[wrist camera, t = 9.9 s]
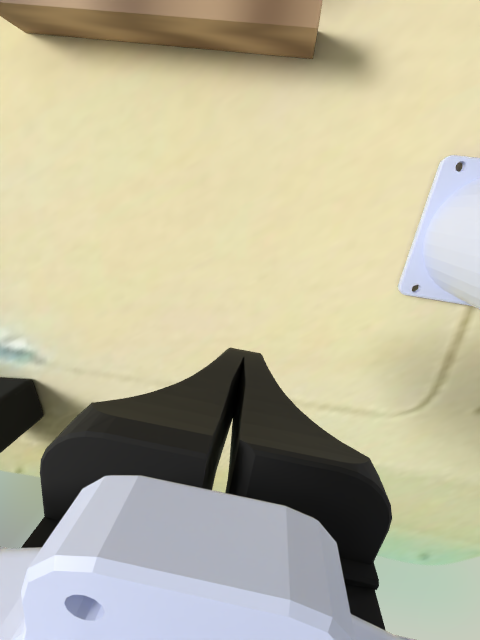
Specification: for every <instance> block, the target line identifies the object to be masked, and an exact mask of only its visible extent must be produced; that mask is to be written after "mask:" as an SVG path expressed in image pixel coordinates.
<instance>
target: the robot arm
mask: <svg viewBox="0 0 480 640" xmlns="http://www.w3.org/2000/svg"><path fill="white" fill-rule="evenodd" d="M458 162H460V163H462V169H461V171H459V172H458V171H456V169H455V168H456V165H457V163H458ZM415 285H418V289H417V290H416V291H412V287H413V286H415ZM398 290H399V291H400V292H401V293H402V294H404V295H409V296H415V297H421V298H428V299H434V300H440V301H446V302H452V303H458V304H464V305H470V306H474V307H476V308H478V309H479V310H480V158H474V157H466V156H457V155H451V156H448V157H446V158H444V159H443V160H442V161H441V162H440V164H439V166H438V169H437V172H436V175H435V178H434V181H433V184H432V187H431V190H430V193H429V196H428V199H427V202H426V205H425V207H424V210H423V213H422V216H421V219H420V222H419V225H418V228H417V231H416V234H415V237H414V240H413V243H412V246H411V249H410V252H409V255H408V258H407V261H406V264H405V266H404V269H403V272H402V275H401V278H400V281H399V284H398ZM232 418H233V424H232V437H231V450H230V464H229V473H228V481H227V487H226V493H222V492H218V491H213V490H212V487H213V483H214V478H215V474H216V470H217V466H218V463H219V460H220V457H221V453H222V450H223V447H224V444H225V441H226V438H227V434H228V431H229V428H230V425H231V422H232ZM40 477H41V485H42V486H41V487H42V496H43V506H44V514H45V515H44V516H45V517H44V518H43V519H42V521H41V522H40V523H39V525H38V526H37V527H36V529H35V530H34V531H33V533H32V534H31V535H30V537H29V538H28V540H27V541H26V542H25V543H24V545H23V546H22V547H21V548H5V547H1V546H0V640H415V639H410V638H406V637H401V636H397V635H393V634H391V633H389V632H387V631H386V630H385V626H384V623H383V619H382V616H381V612H380V608H379V604H378V601H377V597H376V593H375V590H377V588H378V586H379V579H378V576H377V572H376V569H375V566H374V560H375V557H376V556H377V553H378V551H379V549H380V547H381V545H382V543H383V541H384V539H385V537H386V535H387V533H388V531H389V527H390V524H391V520H392V513H391V505H390V502H389V500H388V497H387V495H386V492H385V490H384V487H383V485H382V482H381V480H380V478H379V475H378V474H377V472H376V470H375V468H374V466H373V464H372V462H371V460H370V458H368V457H367V456H365V455H363V454H361V453H360V452H358V451H356V450H354V449H353V448H351V447H349V446H347V445H346V444H344V443H342V442H341V441H339V440H337V439H336V438H335V437H333V436H332V435H330V434H329V433H327V432H326V431H324V430H323V429H322V428H320V427H319V426H318V425H317V424H315V423H314V422H313V421H312V420H311V419H309V418H308V417H307V416H306V415H305V414H304V413H302V412H301V411H300V410H299V409H298V408H297V407H296V406H295V405H294V404H293V402H292V401H291V400H290V399H289V398H288V397H287V396H286V395H285V393H284V392H283V391H282V390H281V388H280V387H279V385H278V384H277V382H276V381H275V379H274V377H273V376H272V374H271V372H270V371H269V369H268V367H267V365H266V363H265V361H264V358H263V356H262V355H261V353H255V352H250V351H245V350H239V349H234V348H229V349H227V350H226V351H225V352H224V353H223V354H222V355H220V356H219V357H218V358H217V359H216V360H214V361H213V362H212V363H211V364H209V365H208V366H207V367H205V368H204V369H202V370H201V371H199V372H198V373H196V374H194V375H193V376H191V377H189V378H187V379H185V380H183V381H181V382H179V383H176V384H174V385H171V386H168V387H166V388H163V389H160V390H157V391H154V392H150V393H147V394H143V395H139V396H134V397H129V398H124V399H118V400H110V401H103V402H95V403H91V404H90V405H89V406H88V407H87V408H86V409H84V410H83V411H82V412H81V413H80V414H79V415H78V416H77V417H76V418H75V419H74V420H73V421H72V422H71V423H70V424H69V425H68V426H67V427H66V428H65V429H64V430H63V431H62V432H61V434H60V435H59V436H58V437H57V438H56V439H55V440H54V441H53V442H52V443H51V444H50V445H49V446H48V447H47V448H46V450H45V452H44V454H43V456H42V459H41V466H40Z"/></svg>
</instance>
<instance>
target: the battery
mask: <svg viewBox="0 0 480 640" xmlns="http://www.w3.org/2000/svg"><path fill="white" fill-rule="evenodd" d="M42 417H43V411H42V408H41V405H40V402H39V399H38V396H37V393H36V390H35V387H34V384H33V381H32V380H28V379H13V378H0V453H1V452H2V451H3V450H4V449H5V448H7V447H8V446H9V445H10V444H11V443H13V442H14V441H15V440H16V439H17V438H18V437H20V436H21V435H22V434H23V433H24V432H26V431H27V430H28V429H29V428H30V427H32V426H33V425H34V424H35V423H36V422H37V421H39V420H40V419H41V418H42Z"/></svg>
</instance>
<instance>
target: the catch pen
mask: <svg viewBox="0 0 480 640" xmlns="http://www.w3.org/2000/svg"><path fill="white" fill-rule="evenodd" d="M321 6H322V0H0V16H1V17H3V18H4V19H6V20H7V21H9V22H10V23H12V24H13V25H15V26H16V27H18V28H19V29H21V30H22V31H24V32H25V33H36V34H47V35H58V36H69V37H80V38H91V39H102V40H113V41H124V42H134V43H145V44H156V45H167V46H178V47H189V48H200V49H211V50H222V51H233V52H244V53H255V54H266V55H276V56H287V57H298V58H309V59H313V55H314V49H315V43H316V38H317V32H318V26H319V19H320V13H321Z"/></svg>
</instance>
